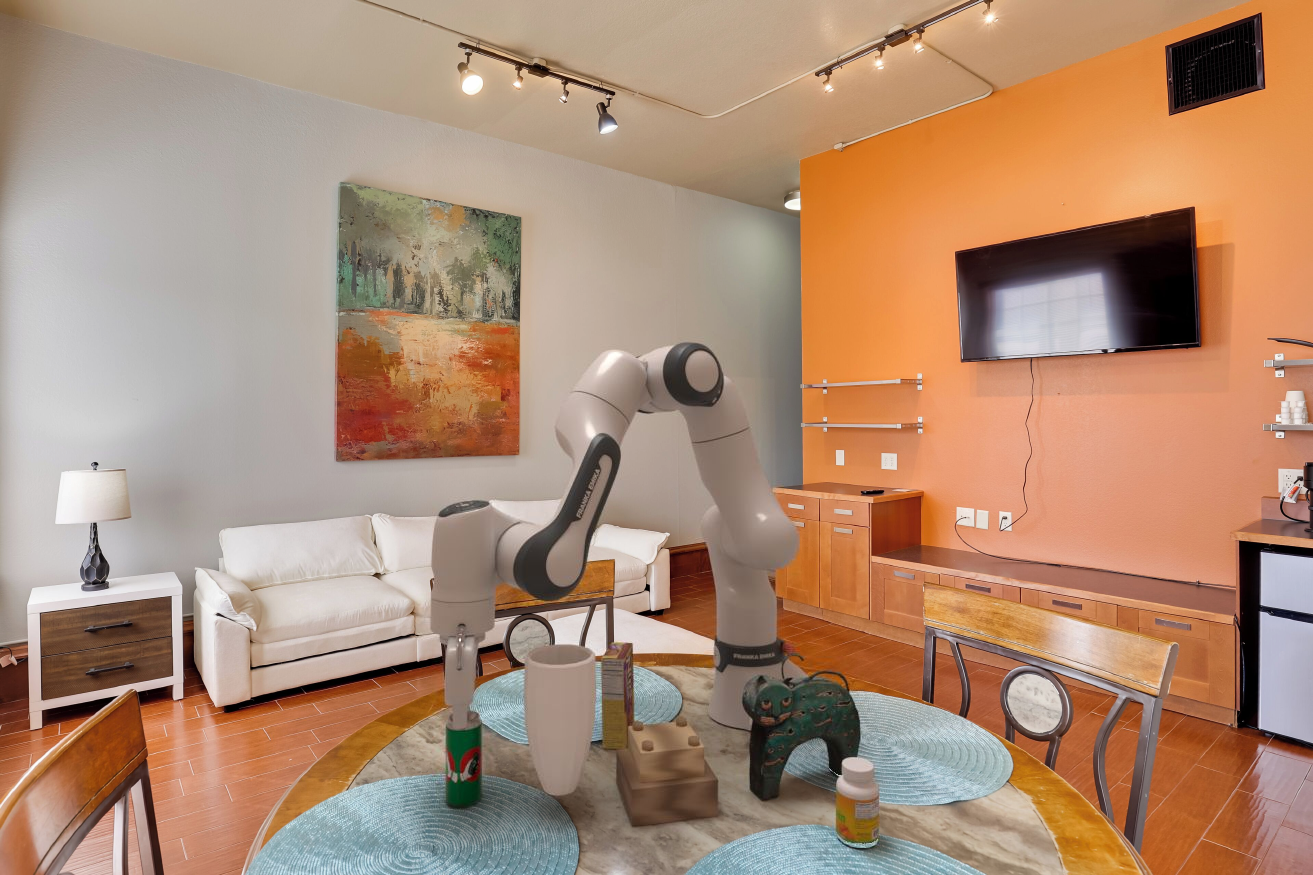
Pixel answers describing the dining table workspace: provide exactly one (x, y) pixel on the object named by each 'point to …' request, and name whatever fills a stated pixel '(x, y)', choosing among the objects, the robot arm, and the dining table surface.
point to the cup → (559, 713)
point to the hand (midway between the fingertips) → (461, 712)
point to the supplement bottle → (857, 802)
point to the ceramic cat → (797, 724)
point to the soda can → (464, 761)
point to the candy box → (617, 694)
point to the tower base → (665, 795)
